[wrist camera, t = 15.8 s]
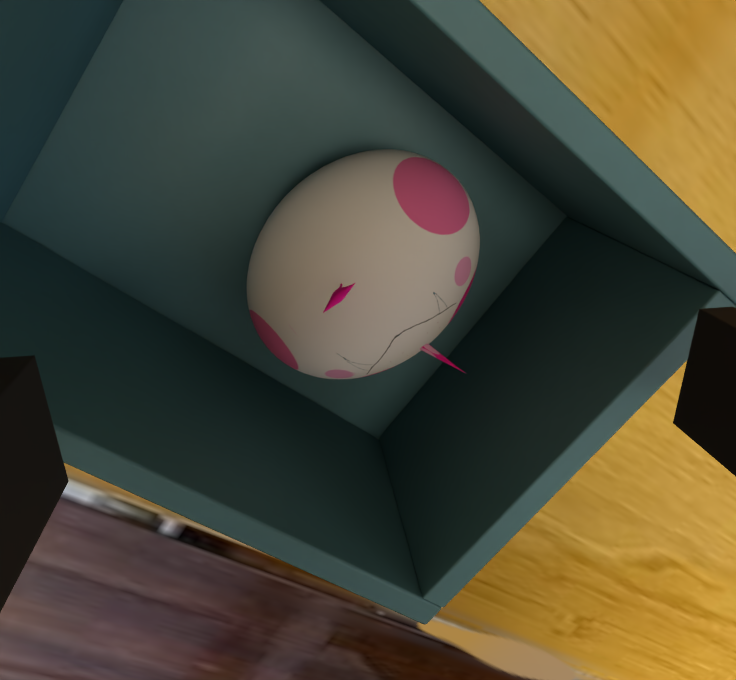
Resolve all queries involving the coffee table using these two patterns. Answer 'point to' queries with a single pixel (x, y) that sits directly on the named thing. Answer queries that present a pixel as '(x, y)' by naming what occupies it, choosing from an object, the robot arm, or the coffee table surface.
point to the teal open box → (240, 232)
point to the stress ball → (363, 264)
